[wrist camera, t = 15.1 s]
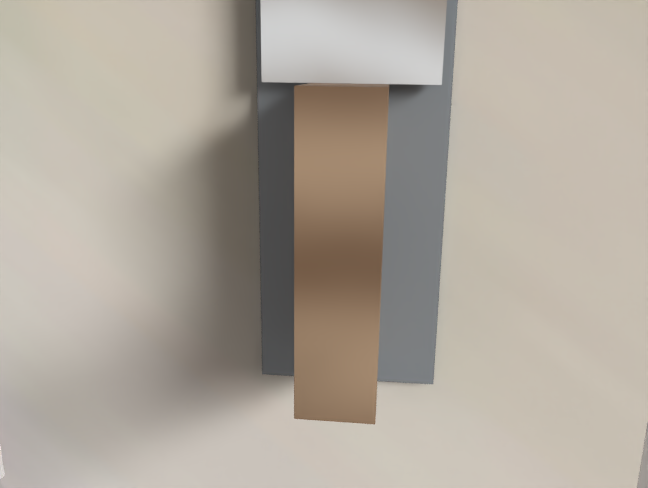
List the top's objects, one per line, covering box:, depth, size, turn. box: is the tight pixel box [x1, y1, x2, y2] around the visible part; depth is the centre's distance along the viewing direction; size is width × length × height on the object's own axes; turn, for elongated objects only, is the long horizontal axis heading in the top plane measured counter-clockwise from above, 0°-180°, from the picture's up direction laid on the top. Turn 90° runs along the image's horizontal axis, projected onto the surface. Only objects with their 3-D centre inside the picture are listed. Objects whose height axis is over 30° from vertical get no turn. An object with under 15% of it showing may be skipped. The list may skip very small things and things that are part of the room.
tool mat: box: [256, 0, 458, 384], centre depth 26 cm, size 22×8×1 cm, turn 179°
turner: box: [260, 0, 447, 424], centre depth 23 cm, size 20×7×6 cm, turn 179°
